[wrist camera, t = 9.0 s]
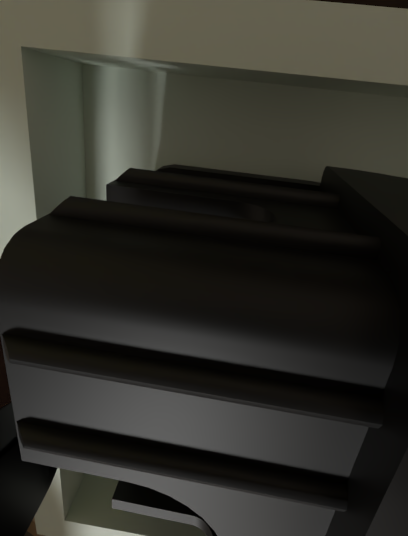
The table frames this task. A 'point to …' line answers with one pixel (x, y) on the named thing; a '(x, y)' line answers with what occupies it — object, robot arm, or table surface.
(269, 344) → the end cap
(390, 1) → the table surface
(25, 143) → the tray
